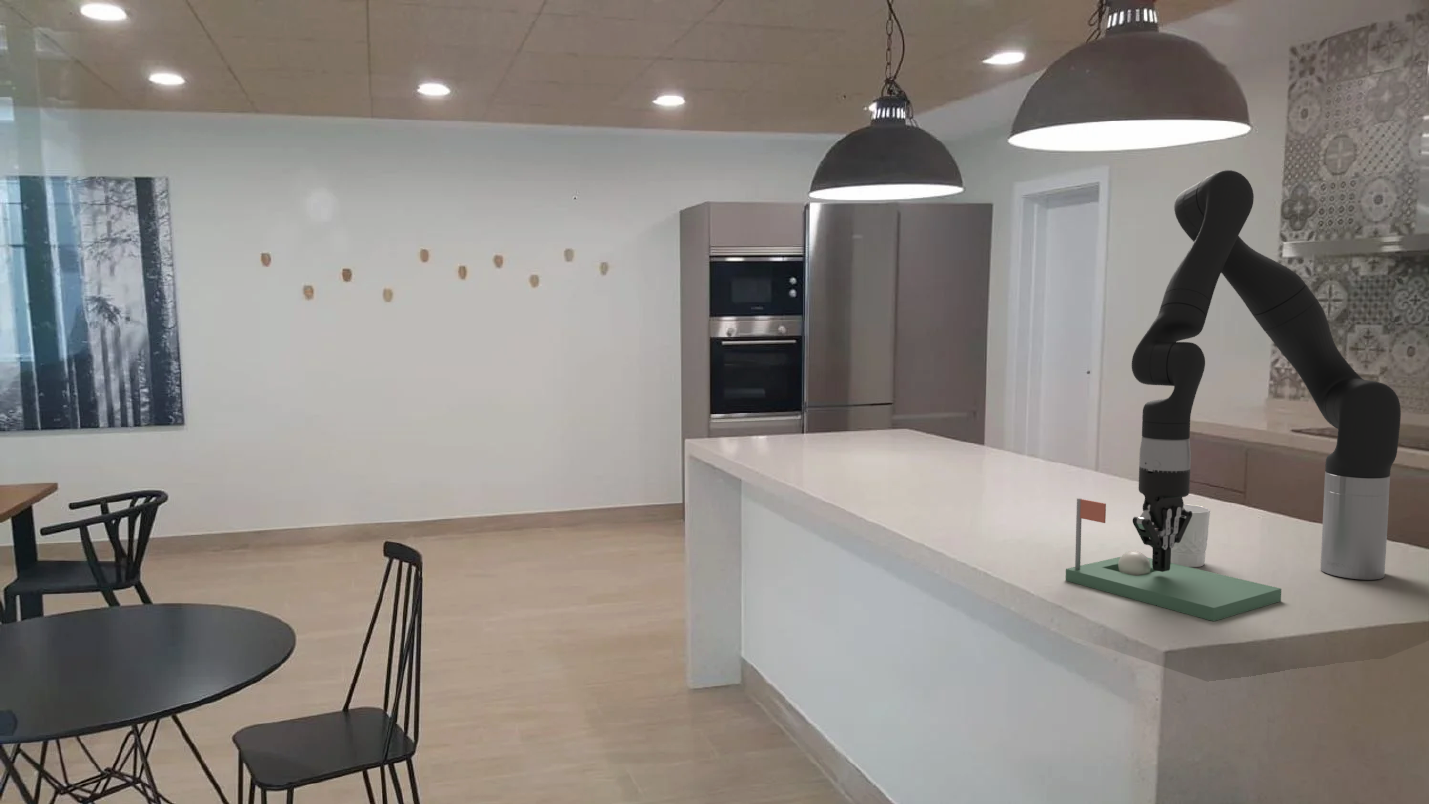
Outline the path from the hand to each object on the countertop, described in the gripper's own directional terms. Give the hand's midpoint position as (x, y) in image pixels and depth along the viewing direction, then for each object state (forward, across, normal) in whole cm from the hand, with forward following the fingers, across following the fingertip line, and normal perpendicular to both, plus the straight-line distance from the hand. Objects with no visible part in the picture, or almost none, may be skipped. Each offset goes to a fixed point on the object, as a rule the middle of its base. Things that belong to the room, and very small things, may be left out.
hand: (1161, 570), depth 159 cm
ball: (0, 0, -5) cm, 5 cm away
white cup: (+3, -18, -8) cm, 20 cm away
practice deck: (+3, 0, +2) cm, 3 cm away
